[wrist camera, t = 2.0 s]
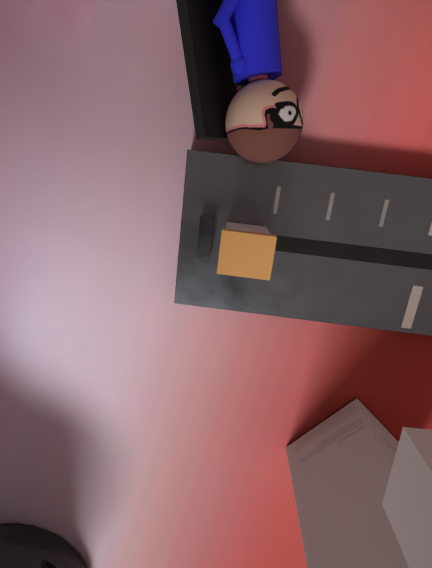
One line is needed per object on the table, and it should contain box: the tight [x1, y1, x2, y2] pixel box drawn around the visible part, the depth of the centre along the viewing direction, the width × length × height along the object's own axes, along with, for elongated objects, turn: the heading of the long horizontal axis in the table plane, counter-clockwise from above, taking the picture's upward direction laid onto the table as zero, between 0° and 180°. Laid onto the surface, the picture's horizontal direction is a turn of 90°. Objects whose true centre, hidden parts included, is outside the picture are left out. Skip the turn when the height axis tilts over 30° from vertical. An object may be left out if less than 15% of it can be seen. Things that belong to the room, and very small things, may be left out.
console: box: [174, 150, 432, 336], centre depth 29 cm, size 28×12×3 cm, turn 83°
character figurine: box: [176, 0, 303, 163], centre depth 23 cm, size 8×7×15 cm
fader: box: [217, 222, 277, 280], centre depth 25 cm, size 3×3×6 cm
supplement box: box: [286, 399, 409, 568], centre depth 29 cm, size 9×9×15 cm
